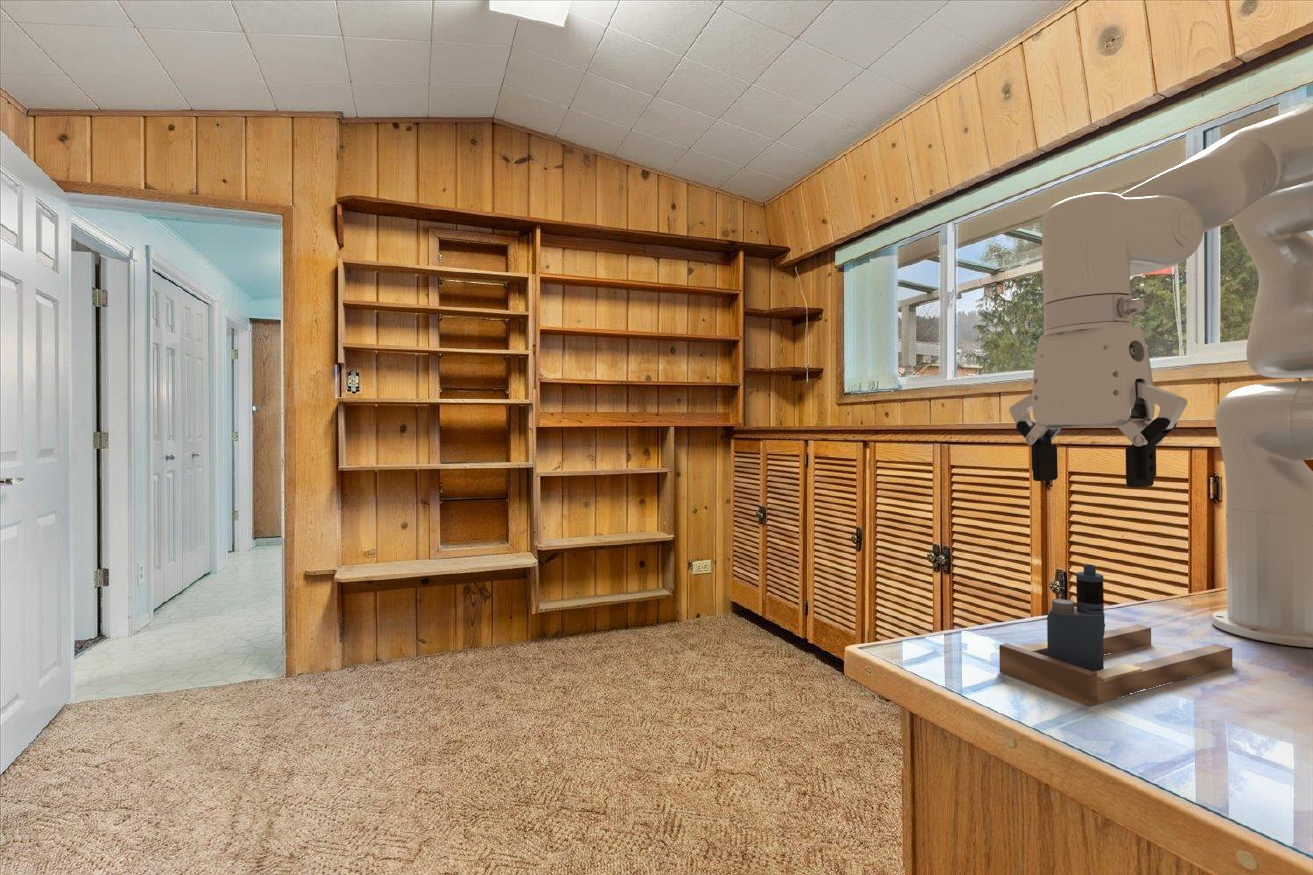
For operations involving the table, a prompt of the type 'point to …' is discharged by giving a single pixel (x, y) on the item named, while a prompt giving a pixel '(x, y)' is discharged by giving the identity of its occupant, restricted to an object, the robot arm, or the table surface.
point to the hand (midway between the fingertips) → (1089, 483)
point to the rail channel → (1111, 681)
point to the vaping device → (1079, 624)
